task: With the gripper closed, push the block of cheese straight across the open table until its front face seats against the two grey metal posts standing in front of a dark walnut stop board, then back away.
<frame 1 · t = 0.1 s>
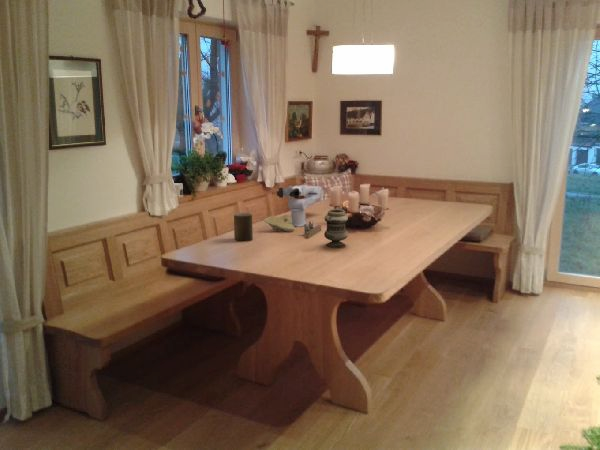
hand: (284, 194, 315), 22 cm above the table, tool horizontal, fingers open, 7 cm apart
boss stop: (308, 233, 315), on the table
cheese: (279, 231, 322), on the table
apothecary jar: (336, 245, 290), on the table
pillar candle: (243, 239, 304), on the table
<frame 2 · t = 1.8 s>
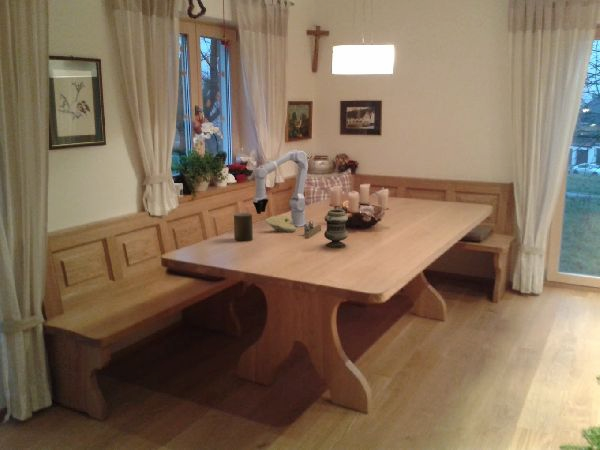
hand: (260, 212, 324), 10 cm above the table, tool pointing down, fingers open, 5 cm apart
cheese: (280, 232, 321), on the table
everything else where it was.
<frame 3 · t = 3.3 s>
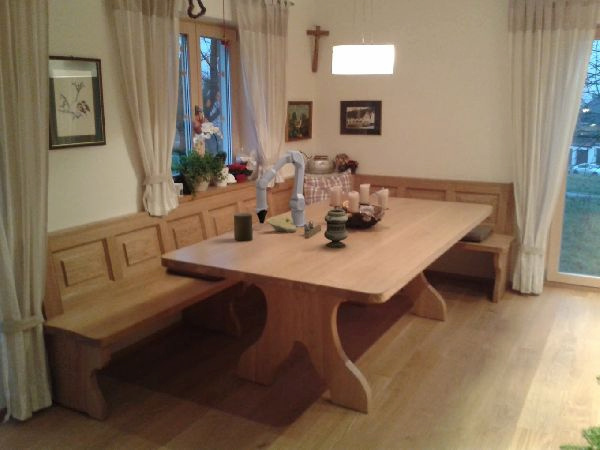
hand: (261, 223, 325), 4 cm above the table, tool pointing down, fingers closed
cheese: (281, 232, 320), on the table
everything else where it was.
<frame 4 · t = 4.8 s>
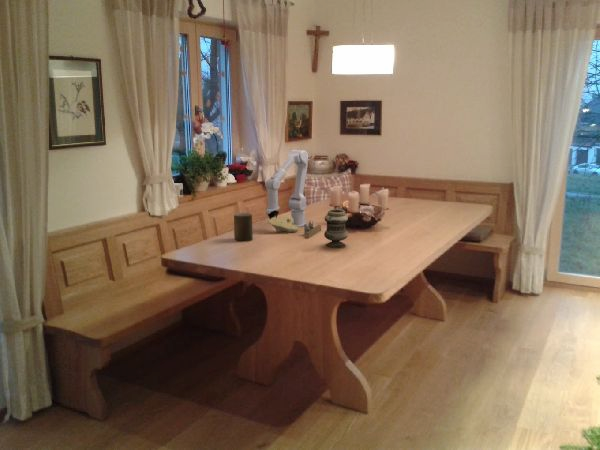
hand: (273, 224, 322), 4 cm above the table, tool pointing down, fingers closed
cheese: (282, 232, 319), on the table, touching gripper
everything else where it was.
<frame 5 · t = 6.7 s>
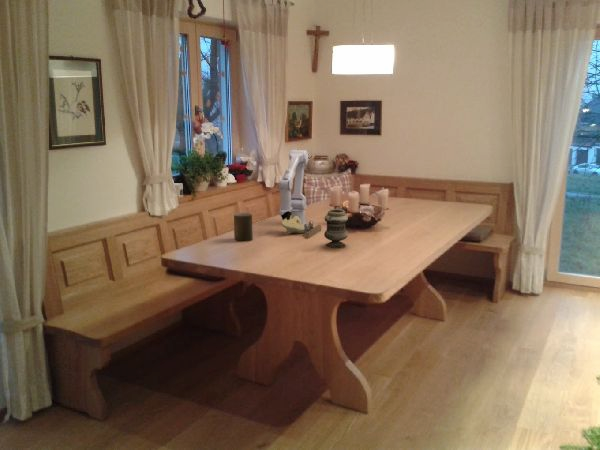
hand: (286, 225, 319), 4 cm above the table, tool pointing down, fingers closed
cheese: (293, 234, 315), on the table, touching gripper
everything else where it was.
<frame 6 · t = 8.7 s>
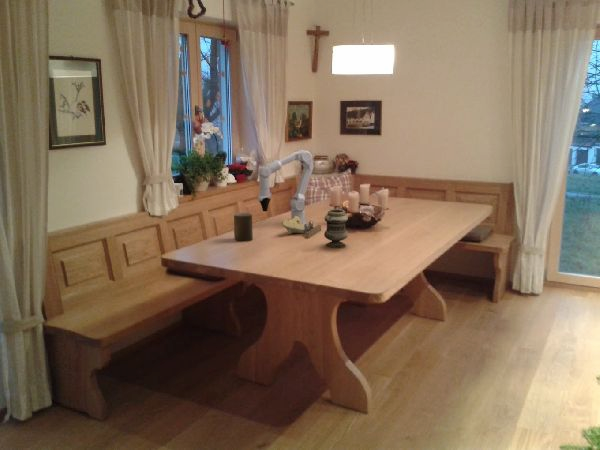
hand: (265, 211, 328), 10 cm above the table, tool pointing down, fingers closed
cheese: (294, 234, 315), on the table
everything else where it was.
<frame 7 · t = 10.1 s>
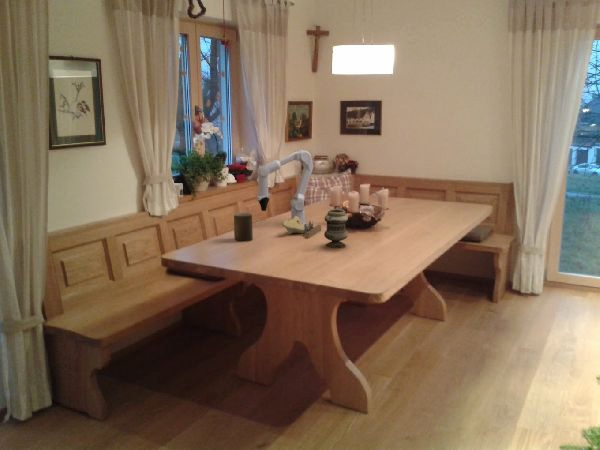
hand: (263, 210, 329), 10 cm above the table, tool pointing down, fingers closed
nothing on the table moved.
at the end: cheese inside the target area (3.6 cm from its centre), on the table; cheese moved 11.5 cm from its start; cheese on the table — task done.
